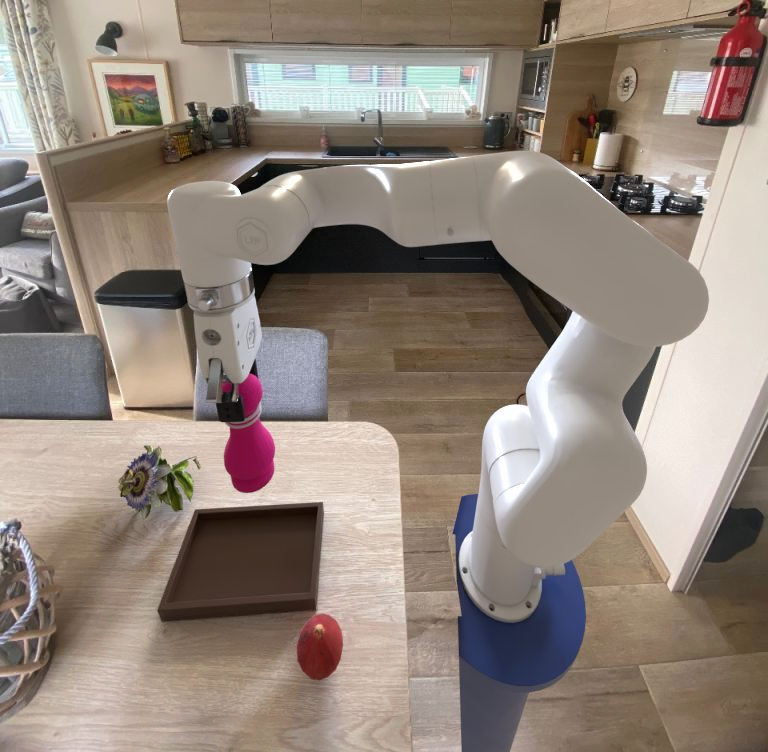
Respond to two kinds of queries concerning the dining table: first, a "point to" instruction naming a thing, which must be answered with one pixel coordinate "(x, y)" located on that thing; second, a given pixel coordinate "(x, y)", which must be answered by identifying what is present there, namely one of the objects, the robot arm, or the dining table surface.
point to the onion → (319, 647)
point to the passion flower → (155, 482)
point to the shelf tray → (246, 563)
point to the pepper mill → (249, 442)
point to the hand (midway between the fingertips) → (240, 399)
